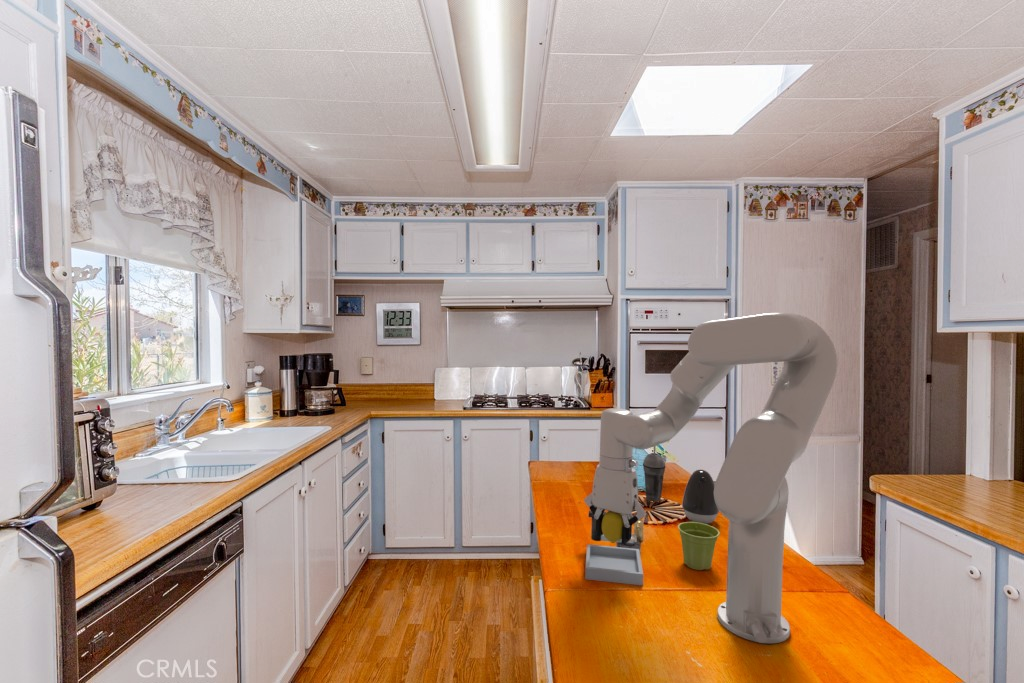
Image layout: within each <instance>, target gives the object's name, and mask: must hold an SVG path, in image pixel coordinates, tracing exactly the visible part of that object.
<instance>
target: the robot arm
mask: <svg viewBox="0 0 1024 683" xmlns="http://www.w3.org/2000/svg"><path fill="white" fill-rule="evenodd" d="M687 349H688V352H687V353H686V355H685V356H684V357H683V358H682V359H681V360H680V361H679V363H678V364H677V365H676V366H675V367H673V369H672V370H671V372H670V375H669V376H670V381H671V383H672V386H671V388H670V390H669V392H668V393H667V395H666V396H665V397H664V399H663V400H661V402H660V403H659V404H658V406H656V407H655V408H654V409H653V410H651V411H647V412H644V413H643V412H642V413H638V414H633V412H632V411H631V410H629V409H625V408H619V407H618V408H616V407H615V408H613V407H612V408H607V409H604V410H602V411H601V414H600V432H599V433H600V434H599V436H600V437H599V438H600V439H599V463H598V464H597V465H596V468H595V472H594V478H593V484H592V490H591V491H592V492H591V493H589V495H587V496H586V497H585V498H584V499H583V501H584V503H585V505H586V506H587V507H589V511H591V512H592V513H593V514H594V518H595V519H596V531H597V536H598V537H600V536H601V535H603V532H602V520H603V517H604V512H606V511H607V512H608V511H612V512H616V513H619V514H622V518H623V521H624V526H623V527H622V544H626V543H627V542H628V541H629V540H630V539H631V534H633V532H632V529H633V527H632V526H634V523H635V522H637V521H638V520H642V519H643V518H645V516H647V512H646V510H645V509H644V508H643V506H642V505H641V503H640V502H639V484H638V476H637V470H636V468H638V466H639V461H637V460H636V459H634V456H633V452H634V449H637V450H648V449H651V448H654V446H658V445H661V444H664V443H667V442H669V441H670V440H672V439H673V438H674V437H676V436H677V435H678V434H679V432H680V431H682V430H683V429H684V427H685V426H686V425H687V424H688V423H689V422H690V421H691V419H692V418H694V416H695V415H696V413H697V411H698V410H699V409H700V407H701V406H702V405H703V402H704V400H705V399H706V398H707V396H709V394H710V393H711V392H712V391H713V390H714V389H715V388H716V387H717V386H718V385H719V384H720V383H721V382H722V381H723V379H725V377H726V376H727V375H729V373H730V372H731V371H732V370H733V369H734V368H735V367H736V366H738V365H739V366H740V365H750V364H752V365H753V364H766V363H781V362H783V366H782V370H781V372H780V374H779V376H778V377H777V378H776V381H775V382H774V385H773V387H772V389H771V393H770V395H769V397H768V399H767V401H766V403H765V405H764V407H763V409H762V411H761V412H760V413H759V414H758V415H756V416H754V417H751V418H749V419H748V420H746V421H745V422H744V423H743V424H742V425H741V426H740V428H739V429H738V431H737V432H736V434H735V436H734V439H733V440H732V443H731V444H730V447H729V450H728V452H727V454H726V456H725V458H724V461H723V463H722V466H721V468H720V469H719V470H720V471H719V473H718V475H717V478H716V480H715V481H714V484H715V486H714V499H715V503H716V505H717V507H718V509H719V513H721V514H722V516H723V517H724V518H726V519H727V520H728V521H729V522H728V536H727V537H728V539H727V560H726V561H727V567H726V592H725V594H726V595H725V598H726V599H725V601H724V602H722V603H720V604H719V606H718V607H717V613H716V614H717V615H716V616H717V619H718V621H719V622H720V624H721V625H722V626H723V627H724V628H725V629H727V630H728V631H729V632H731V633H732V634H734V635H736V636H738V637H740V638H742V639H745V640H748V641H751V642H755V643H759V644H767V645H768V644H777V643H778V644H779V643H781V642H785V641H787V639H789V637H790V636H791V626H790V623H789V622H788V620H787V619H786V618H785V617H784V616H783V615H782V597H783V596H782V595H783V567H784V566H783V565H784V563H783V562H784V549H785V546H784V545H785V544H784V543H785V526H786V518H787V511H788V510H787V509H788V503H789V485H788V484H789V483H788V481H787V478H786V475H787V473H788V471H789V470H790V467H791V466H792V463H794V462H795V461H797V460H798V459H799V458H800V457H802V455H803V454H804V453H805V451H806V449H807V445H808V443H809V441H810V437H811V436H812V434H813V431H814V429H815V427H816V424H817V422H818V420H819V418H820V417H821V414H822V412H823V408H824V407H825V404H826V401H827V399H828V398H829V394H830V393H831V390H832V388H833V386H834V382H835V379H836V376H837V370H838V356H837V350H836V348H835V345H834V342H833V341H832V338H830V336H829V335H828V333H827V332H826V331H825V330H824V328H822V327H821V325H820V324H818V323H816V322H815V321H813V320H812V319H811V318H809V317H807V316H804V315H801V314H796V313H788V312H769V313H762V314H756V315H754V314H753V315H748V316H742V317H733V318H726V319H717V320H716V319H715V320H709V321H704V322H702V323H700V324H698V325H697V326H695V327H694V329H692V331H691V333H690V334H689V336H688V340H687ZM633 511H635V512H636V514H635V515H634V516H633V514H632V513H633Z"/></svg>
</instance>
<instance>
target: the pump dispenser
mask: <svg viewBox="0 0 1024 683" xmlns="http://www.w3.org/2000/svg"><path fill="white" fill-rule="evenodd" d="M714 486H715V481H714V479H713V477H712V475H711V474H710V473H709V472H708V471H707V470H705V469H696V470H695V471H693V472H692V474H691V475H690V476H689V479H688V480H687V483H686V486H685V488H684V493H683V496H682V509H683V512H684V514H685V516H686V518H688V520H690V522H698V523H703V524H707V525H709V524H711V523H713V522H714V521H715V520H716V519H717V516H718V514H719V513H720V511H719V509H718V507H717V505H716V503H715V499H714Z"/></svg>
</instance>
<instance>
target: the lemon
mask: <svg viewBox="0 0 1024 683" xmlns="http://www.w3.org/2000/svg"><path fill="white" fill-rule="evenodd" d="M623 526H624V521H623V518H622V514H619V513H616V512H612V511H608V510H607V511H606V514H605V515H604V517H603V520H602V532H603V535H604V536H605V538H606V539H608V540H610V541H611V542H610V541H609V542H610V543H611V544H615V543H617V542H616V541H619V540H621V539H622V527H623Z"/></svg>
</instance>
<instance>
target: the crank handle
mask: <svg viewBox="0 0 1024 683" xmlns="http://www.w3.org/2000/svg"><path fill="white" fill-rule="evenodd" d="M606 513H607V511H605V512H604V515H605V514H606ZM588 518H591V530H590V532H591V534H590V538H591V540H592V541H593V542H601V541H602V542H610V543H611V541H610V540H608V539H606V538H605V536H604V535H601V536H600V537H598V536H597V531H596V519H595V518H594V514H593V513H592V512H591V510H588ZM617 542H621V543H622V539H621V540H619V541H616V542H615V543H617ZM636 543H637V536H636V535H634V533H632V534H631V539H630V540H629V541H628V542H627V543H626V545H635V544H636Z"/></svg>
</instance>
